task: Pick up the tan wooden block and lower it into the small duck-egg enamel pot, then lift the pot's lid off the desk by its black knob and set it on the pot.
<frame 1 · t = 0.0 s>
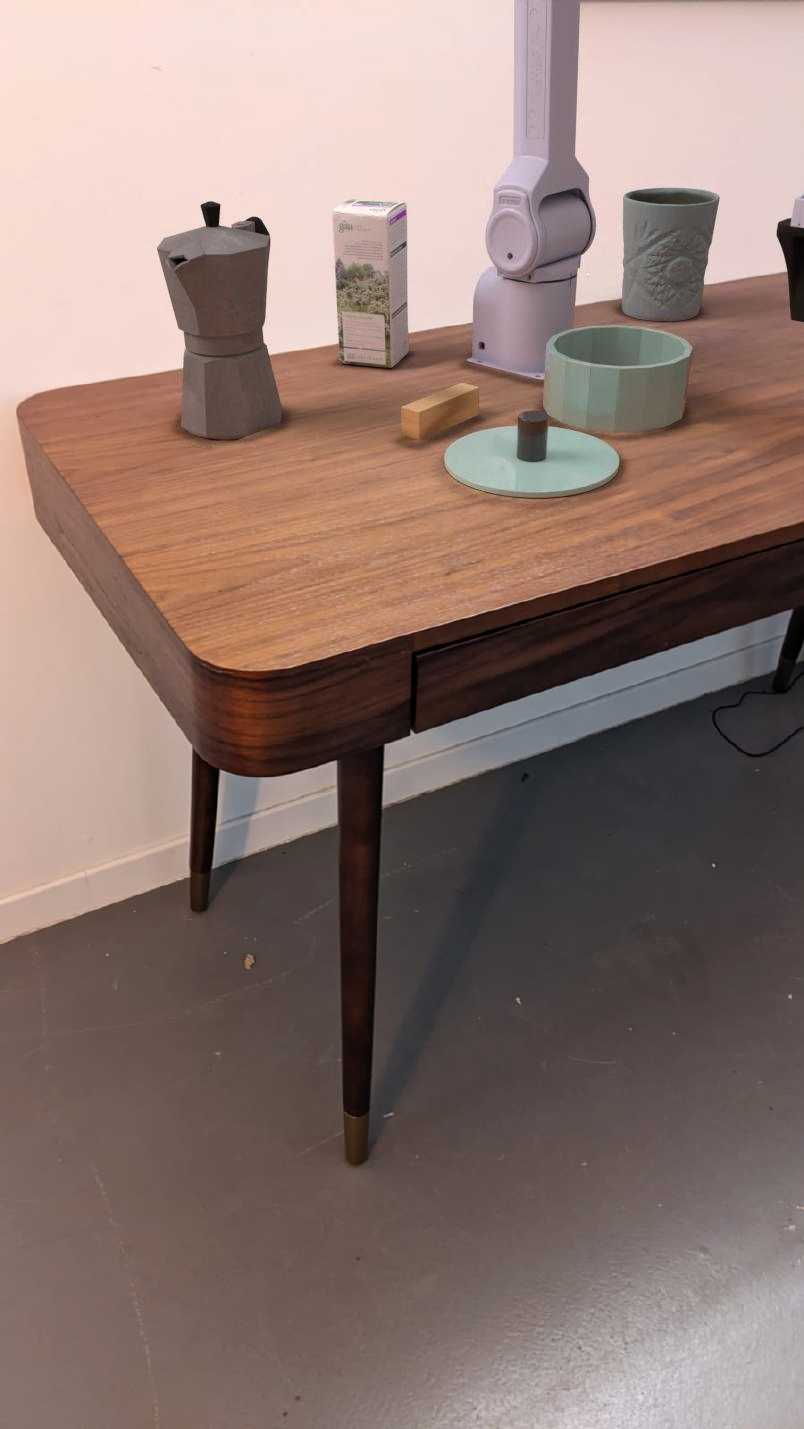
pot: (612, 412, 100), on the table
tan wooden block: (441, 430, 97), on the table
drinking glass: (658, 312, 126), on the table
coffeepot: (238, 419, 100), on the table
syrup box: (374, 360, 114), on the table
lid: (531, 462, 89), point 1 cm above the table
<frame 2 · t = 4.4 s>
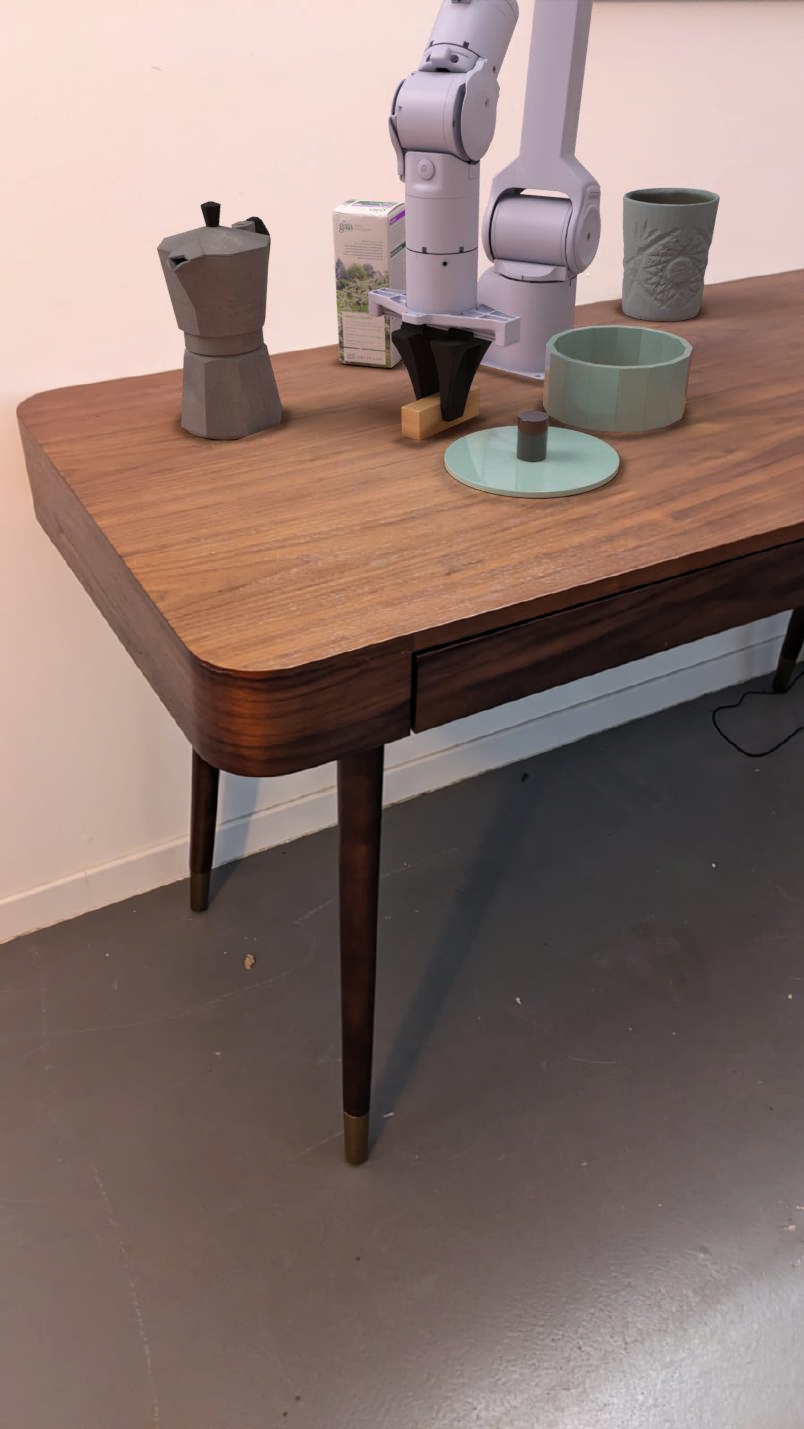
hand: (441, 414, 96), 1 cm above the table, tool pointing down, fingers closed on tan wooden block, 2 cm apart
tan wooden block: (441, 430, 97), on the table, touching gripper
everything else where it was.
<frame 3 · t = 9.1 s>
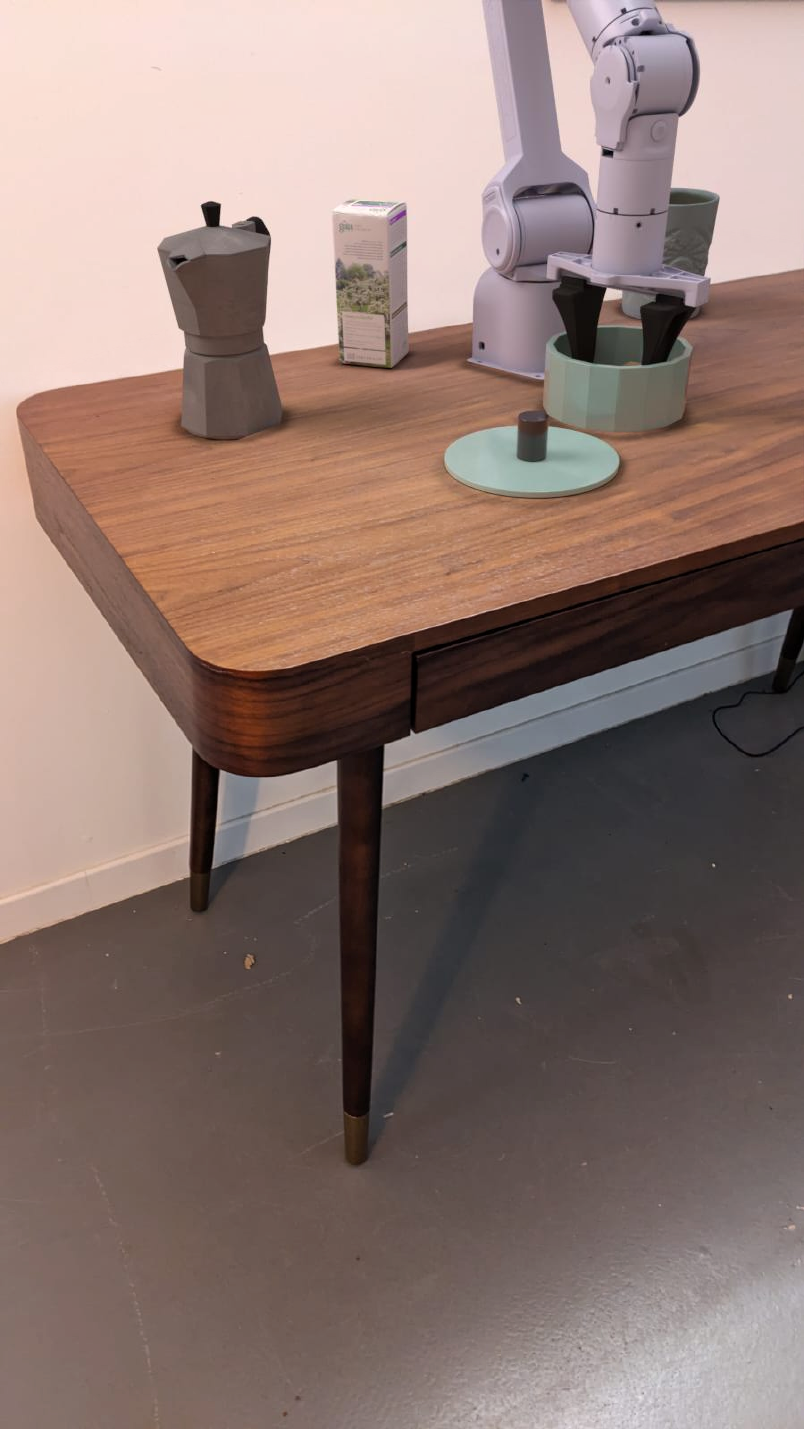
hand: (615, 376, 98), 3 cm above the table, tool pointing down, fingers open, 6 cm apart
tan wooden block: (612, 408, 99), resting on pot
everything else where it was.
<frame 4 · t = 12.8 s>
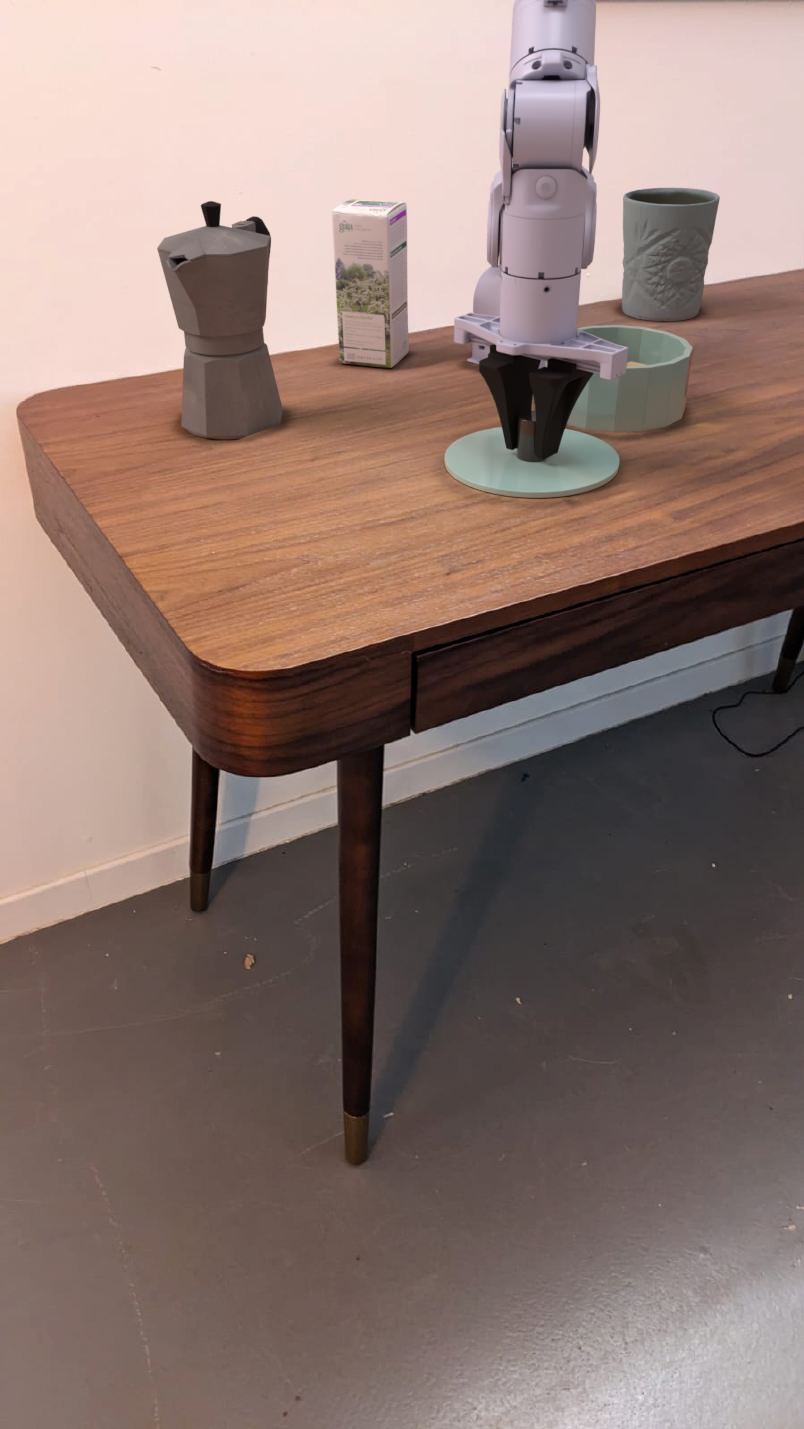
hand: (531, 450, 89), 2 cm above the table, tool pointing down, fingers closed on lid, 2 cm apart
lid: (531, 462, 89), point 1 cm above the table, touching gripper
everything else where it was.
when the fingers open (7 cm above the table, at t = 17.0 s): lid stays where it is, resting on pot.
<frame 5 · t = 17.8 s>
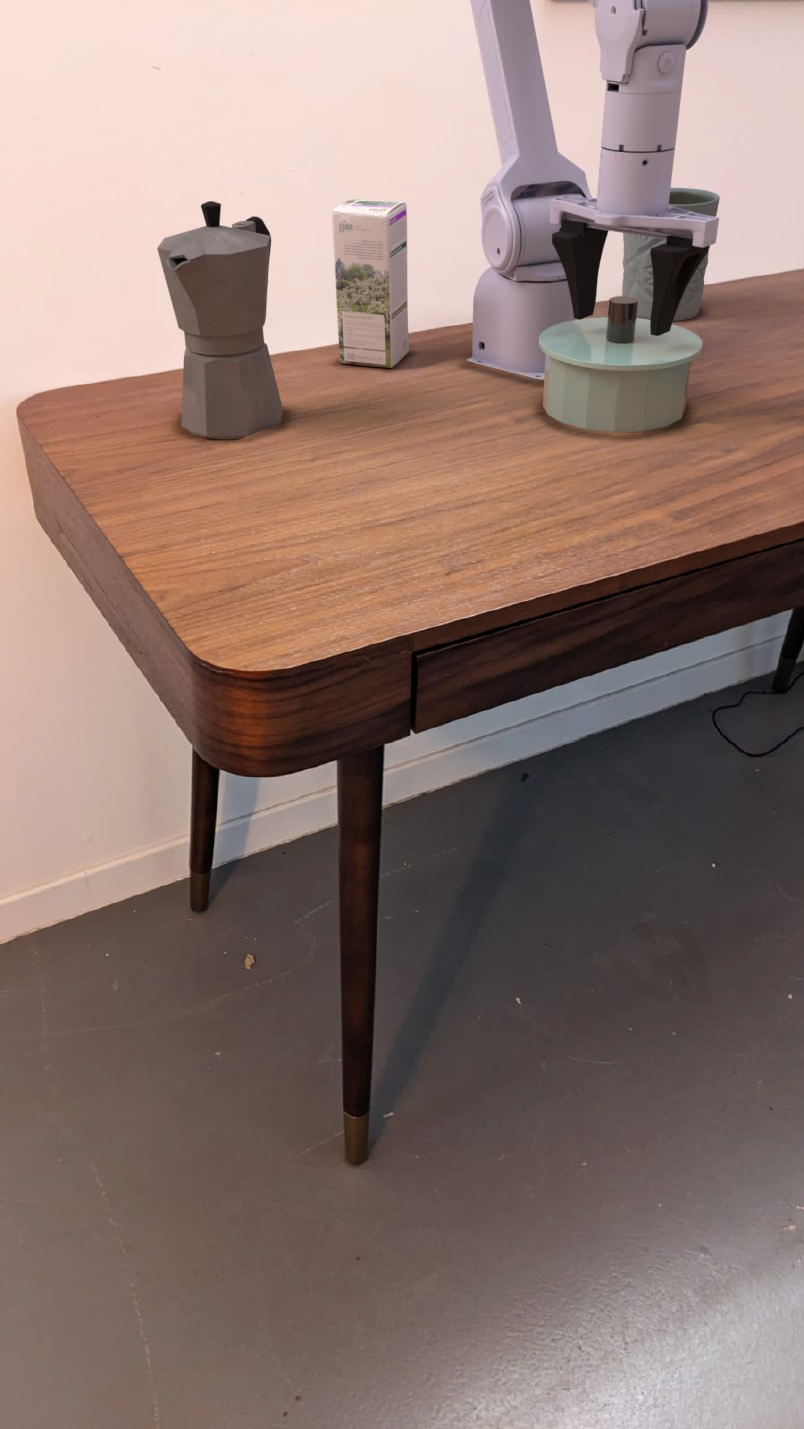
hand: (620, 324, 95), 8 cm above the table, tool pointing down, fingers open, 7 cm apart
lid: (619, 345, 96), point 6 cm above the table, touching pot
everything else where it was.
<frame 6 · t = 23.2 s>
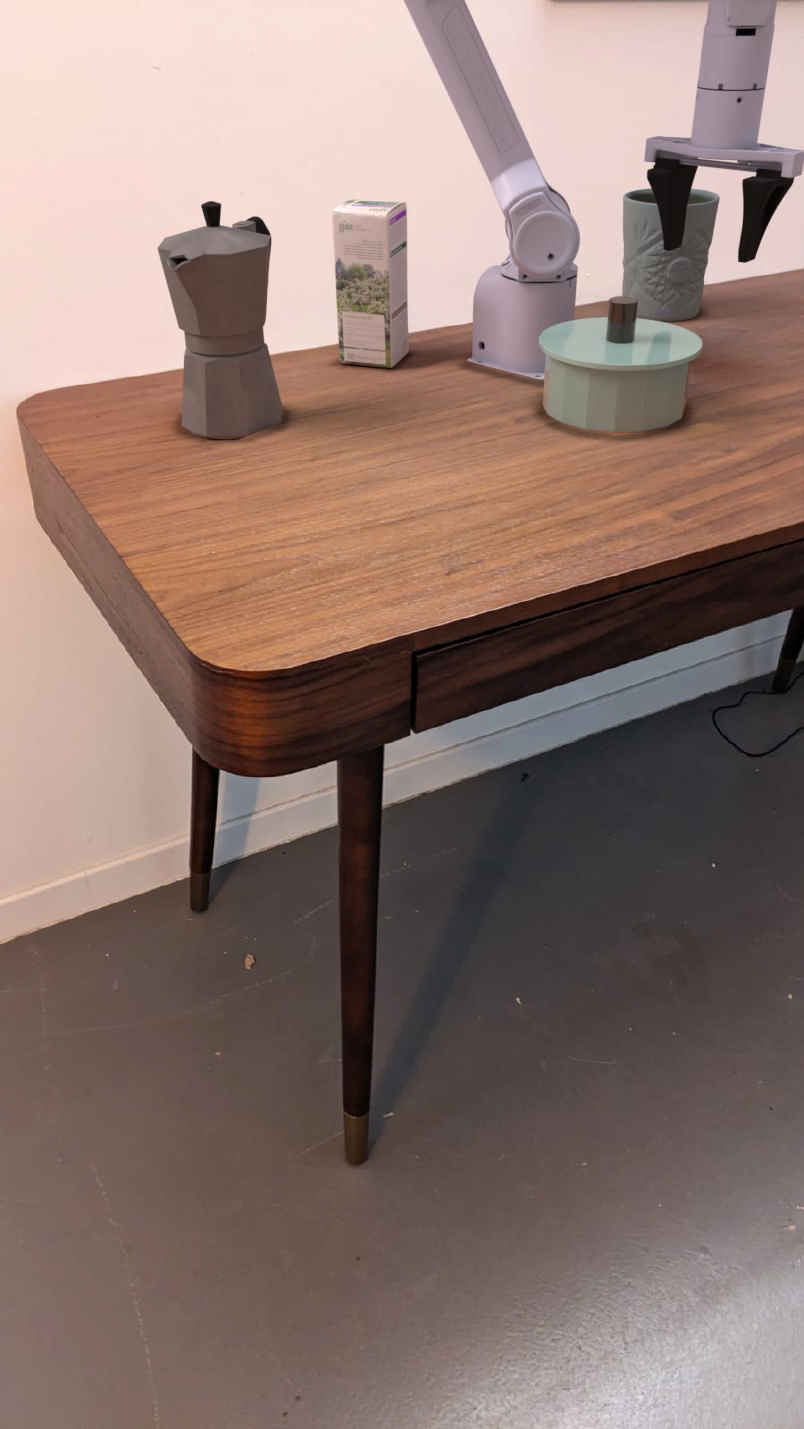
hand: (708, 254, 104), 10 cm above the table, tool pointing down, fingers open, 7 cm apart
nothing on the table moved.
at the end: tan wooden block inside the target area in the pot (0.0 cm from its centre), point 0.4 cm above the pot's base; lid 0.0 cm off-centre on the pot, point 5.9 cm above the pot's base; lid tilted 0° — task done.
